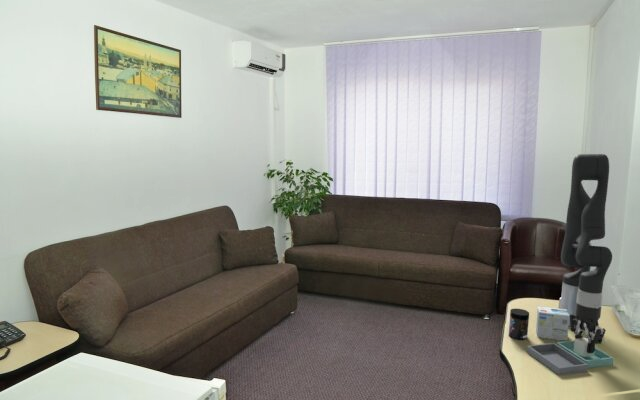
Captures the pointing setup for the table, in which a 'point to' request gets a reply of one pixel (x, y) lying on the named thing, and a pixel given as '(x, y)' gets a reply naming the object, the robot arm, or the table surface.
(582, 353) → the stone block
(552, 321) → the light bulb box
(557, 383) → the table surface
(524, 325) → the supplement container
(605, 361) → the bin
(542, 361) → the bin
